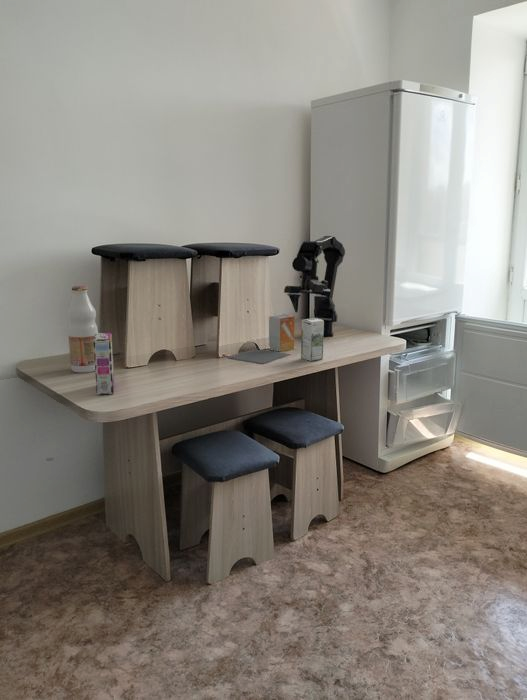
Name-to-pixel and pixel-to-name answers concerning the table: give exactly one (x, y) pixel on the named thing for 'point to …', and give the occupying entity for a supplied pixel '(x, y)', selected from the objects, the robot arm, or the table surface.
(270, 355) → the felt mat
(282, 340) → the small box
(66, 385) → the table surface
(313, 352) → the syrup box
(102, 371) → the candy bar box
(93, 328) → the fruit juice
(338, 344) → the table surface
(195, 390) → the table surface
